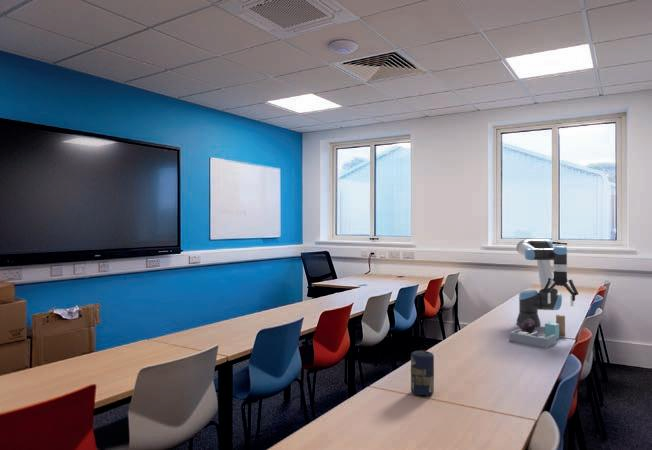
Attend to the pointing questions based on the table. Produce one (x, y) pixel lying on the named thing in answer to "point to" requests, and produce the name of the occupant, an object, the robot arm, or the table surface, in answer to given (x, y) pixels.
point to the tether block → (556, 327)
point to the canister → (422, 372)
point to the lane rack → (532, 339)
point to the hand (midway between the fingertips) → (560, 304)
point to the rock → (528, 326)
